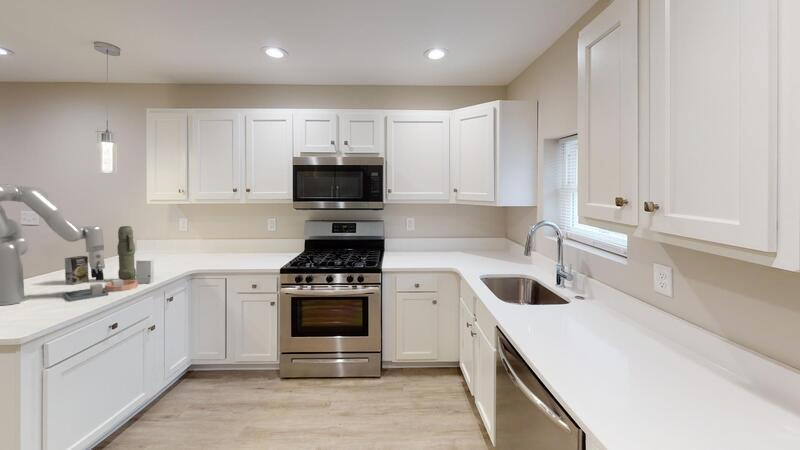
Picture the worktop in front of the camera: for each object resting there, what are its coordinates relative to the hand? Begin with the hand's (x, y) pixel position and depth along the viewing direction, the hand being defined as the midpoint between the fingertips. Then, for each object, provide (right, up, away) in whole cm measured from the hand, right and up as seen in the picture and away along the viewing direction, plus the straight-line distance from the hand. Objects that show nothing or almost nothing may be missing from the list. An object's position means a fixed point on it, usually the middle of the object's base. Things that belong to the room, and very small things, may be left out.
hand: (97, 278), depth 201 cm
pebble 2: (+3, -7, +10) cm, 13 cm away
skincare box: (+7, -7, +28) cm, 30 cm away
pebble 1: (-1, -8, 0) cm, 8 cm away
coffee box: (-32, -6, +23) cm, 39 cm away
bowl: (+4, -8, +13) cm, 15 cm away
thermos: (-7, -6, +31) cm, 33 cm away
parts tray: (-4, -9, -3) cm, 10 cm away
